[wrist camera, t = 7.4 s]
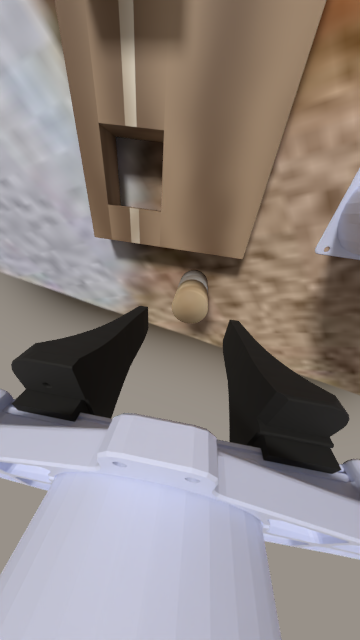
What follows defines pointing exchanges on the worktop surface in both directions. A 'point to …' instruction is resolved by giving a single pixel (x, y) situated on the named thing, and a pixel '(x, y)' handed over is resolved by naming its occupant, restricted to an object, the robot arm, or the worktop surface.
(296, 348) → the worktop surface
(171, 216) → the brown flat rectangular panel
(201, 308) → the peg
